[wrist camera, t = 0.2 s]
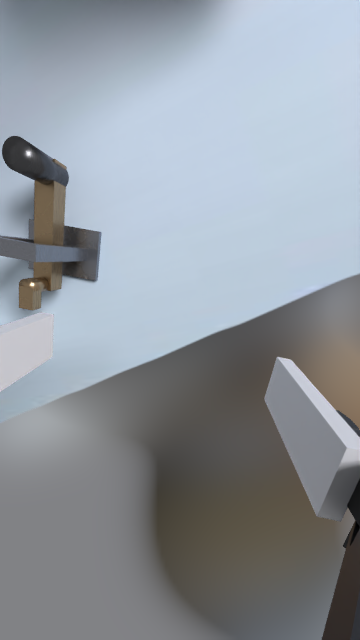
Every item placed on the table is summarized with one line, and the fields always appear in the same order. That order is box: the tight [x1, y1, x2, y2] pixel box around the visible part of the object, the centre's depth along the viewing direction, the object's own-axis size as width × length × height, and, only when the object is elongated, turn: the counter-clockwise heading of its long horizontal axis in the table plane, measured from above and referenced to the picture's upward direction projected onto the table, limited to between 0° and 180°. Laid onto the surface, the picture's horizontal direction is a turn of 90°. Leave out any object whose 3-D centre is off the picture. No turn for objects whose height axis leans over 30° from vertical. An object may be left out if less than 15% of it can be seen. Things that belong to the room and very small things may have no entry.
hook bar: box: [2, 136, 69, 310], centre depth 33 cm, size 21×4×8 cm, turn 170°
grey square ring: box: [0, 219, 101, 281], centre depth 34 cm, size 8×12×14 cm, turn 80°
